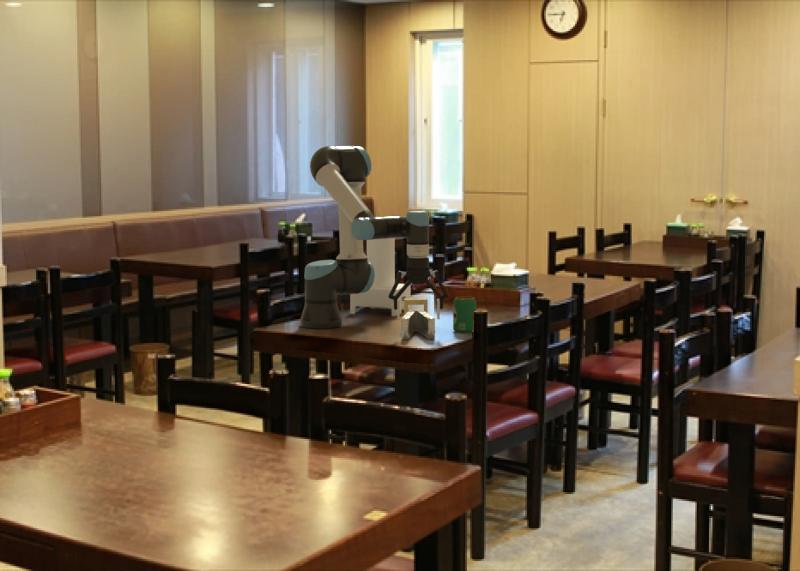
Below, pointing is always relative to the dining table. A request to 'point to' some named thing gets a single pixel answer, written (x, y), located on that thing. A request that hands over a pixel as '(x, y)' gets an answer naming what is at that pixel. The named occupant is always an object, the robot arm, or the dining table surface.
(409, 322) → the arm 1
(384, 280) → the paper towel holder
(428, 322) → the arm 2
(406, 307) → the tan flat upright block
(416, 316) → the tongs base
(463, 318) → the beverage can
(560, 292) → the dining table surface
